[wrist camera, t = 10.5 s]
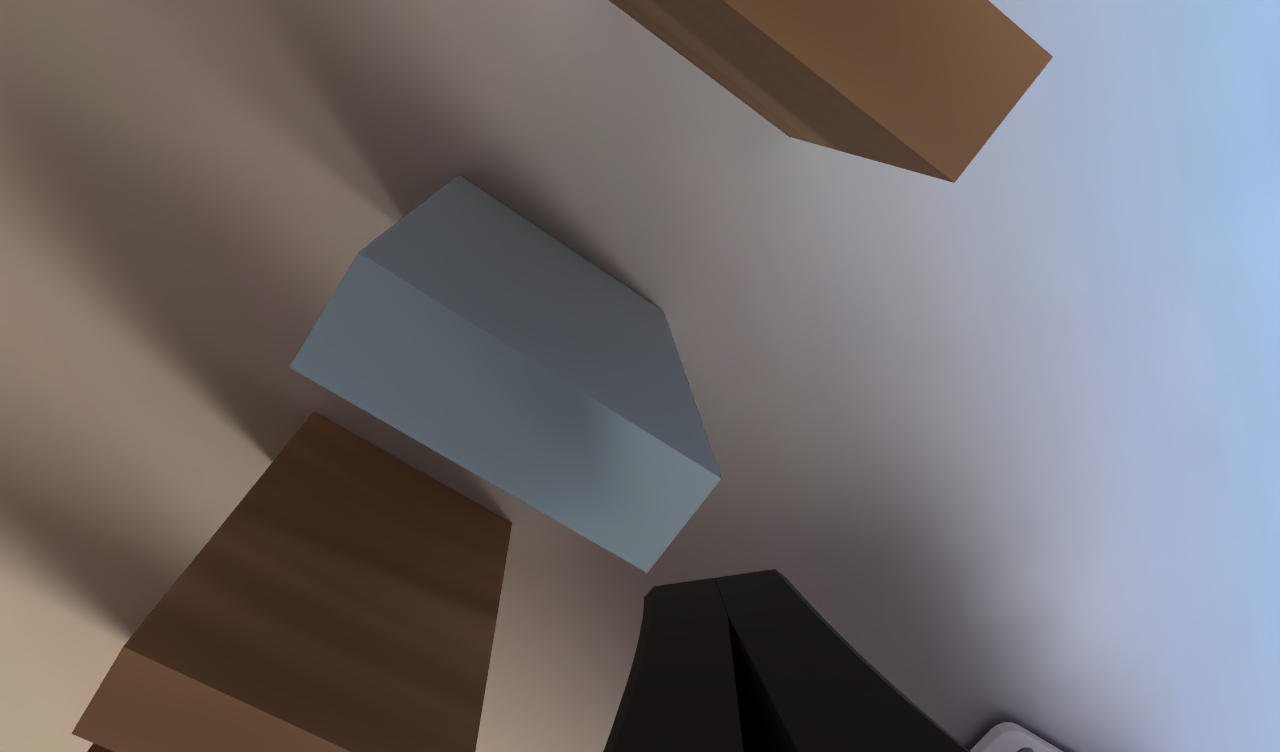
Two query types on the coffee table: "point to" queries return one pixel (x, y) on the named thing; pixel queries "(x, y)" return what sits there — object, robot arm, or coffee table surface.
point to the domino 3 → (861, 70)
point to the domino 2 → (520, 370)
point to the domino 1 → (319, 617)
